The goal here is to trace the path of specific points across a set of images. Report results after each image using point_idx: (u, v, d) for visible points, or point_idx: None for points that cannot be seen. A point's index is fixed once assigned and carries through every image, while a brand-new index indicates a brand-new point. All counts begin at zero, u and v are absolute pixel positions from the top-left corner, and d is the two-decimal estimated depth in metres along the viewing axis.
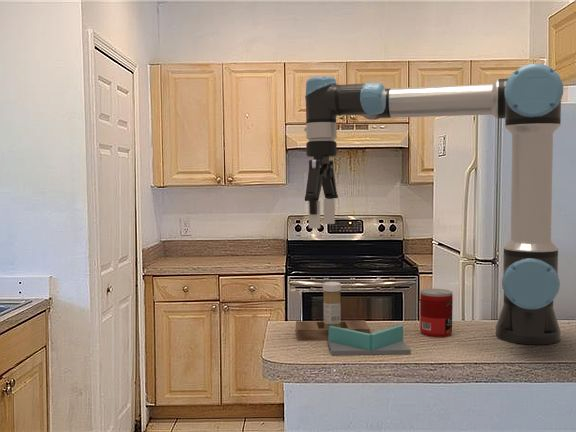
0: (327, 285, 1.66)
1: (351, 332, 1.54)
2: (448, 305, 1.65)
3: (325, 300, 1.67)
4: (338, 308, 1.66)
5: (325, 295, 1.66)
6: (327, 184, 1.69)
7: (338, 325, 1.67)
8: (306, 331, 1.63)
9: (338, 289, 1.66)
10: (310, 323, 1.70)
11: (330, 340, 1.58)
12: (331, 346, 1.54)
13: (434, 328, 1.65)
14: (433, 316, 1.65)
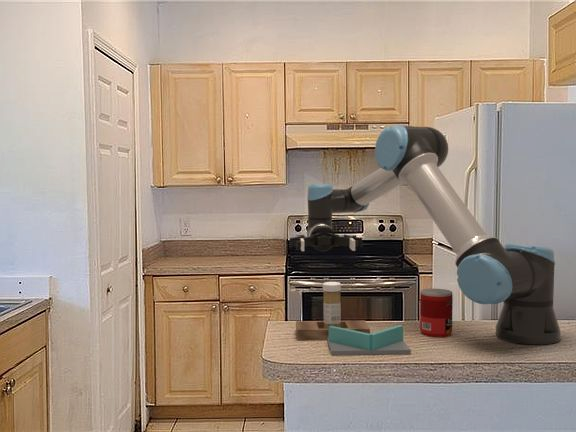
0: (327, 285, 1.66)
1: (351, 332, 1.54)
2: (448, 305, 1.65)
3: (325, 300, 1.67)
4: (338, 308, 1.66)
5: (325, 295, 1.66)
6: (340, 240, 1.87)
7: (338, 325, 1.67)
8: (306, 331, 1.63)
9: (338, 289, 1.66)
10: (310, 323, 1.70)
11: (330, 340, 1.58)
12: (331, 346, 1.54)
13: (434, 328, 1.65)
14: (433, 316, 1.65)
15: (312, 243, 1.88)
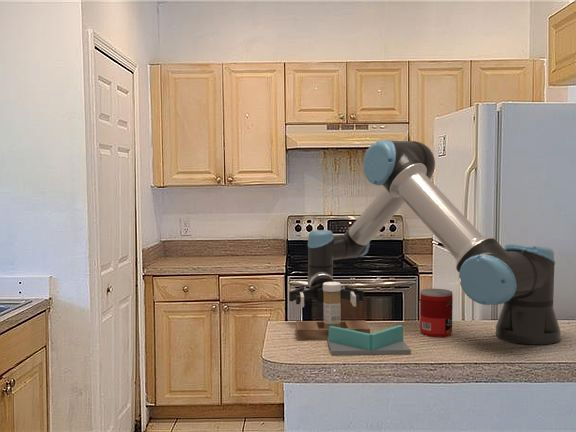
0: (327, 285, 1.66)
1: (351, 332, 1.54)
2: (448, 305, 1.65)
3: (325, 300, 1.67)
4: (338, 308, 1.66)
5: (325, 295, 1.66)
6: (341, 293, 1.83)
7: (338, 325, 1.67)
8: (306, 331, 1.63)
9: (338, 289, 1.66)
10: (310, 323, 1.70)
11: (330, 340, 1.58)
12: (331, 346, 1.54)
13: (434, 328, 1.65)
14: (433, 316, 1.65)
15: (312, 296, 1.84)
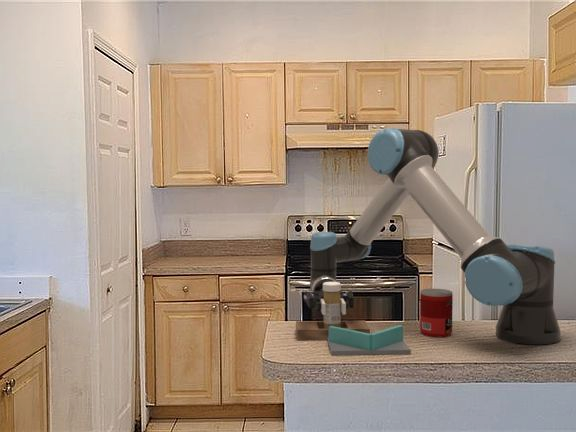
0: (327, 285, 1.66)
1: (351, 332, 1.54)
2: (448, 305, 1.65)
3: (325, 300, 1.67)
4: (338, 308, 1.66)
5: (325, 295, 1.66)
6: None
7: (338, 325, 1.67)
8: (306, 331, 1.63)
9: (338, 289, 1.66)
10: (310, 323, 1.70)
11: (330, 340, 1.58)
12: (331, 346, 1.54)
13: (434, 328, 1.65)
14: (433, 316, 1.65)
15: None
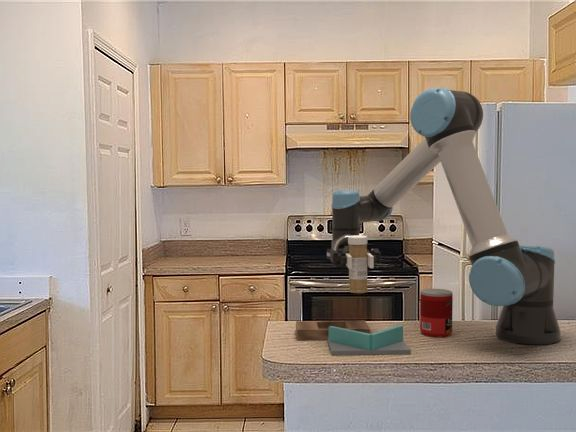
0: (353, 238, 1.55)
1: (351, 332, 1.54)
2: (448, 305, 1.65)
3: (351, 254, 1.56)
4: (365, 262, 1.56)
5: (351, 249, 1.56)
6: None
7: (365, 281, 1.56)
8: (306, 331, 1.63)
9: (365, 242, 1.56)
10: (310, 323, 1.70)
11: (330, 340, 1.58)
12: (331, 346, 1.54)
13: (434, 328, 1.65)
14: (433, 316, 1.65)
15: None
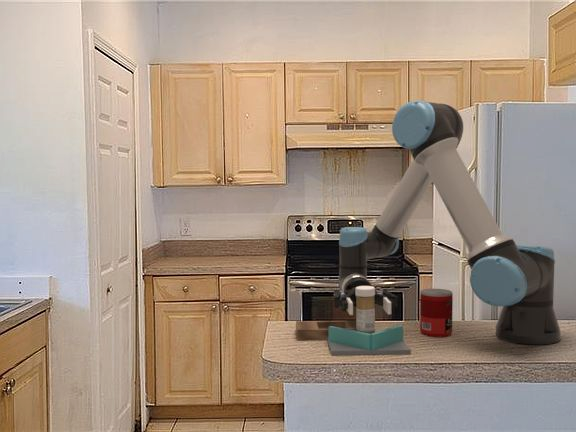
0: (360, 289, 1.54)
1: (351, 332, 1.54)
2: (448, 305, 1.65)
3: (358, 306, 1.55)
4: (372, 314, 1.54)
5: (358, 300, 1.54)
6: (375, 298, 1.62)
7: (372, 332, 1.55)
8: (306, 331, 1.63)
9: (372, 294, 1.54)
10: (310, 323, 1.70)
11: (330, 340, 1.58)
12: (331, 346, 1.54)
13: (434, 328, 1.65)
14: (433, 316, 1.65)
15: (353, 301, 1.63)
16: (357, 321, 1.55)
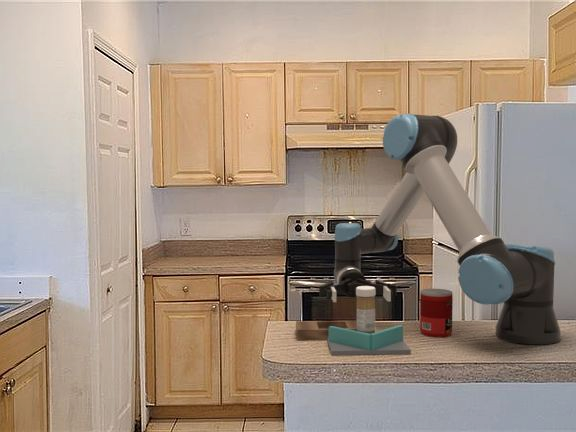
0: (361, 290, 1.54)
1: (351, 332, 1.54)
2: (448, 305, 1.65)
3: (359, 306, 1.55)
4: (373, 314, 1.54)
5: (359, 300, 1.54)
6: None
7: None
8: (306, 331, 1.63)
9: (373, 294, 1.54)
10: (310, 323, 1.70)
11: (330, 340, 1.58)
12: (331, 346, 1.54)
13: (434, 328, 1.65)
14: (433, 316, 1.65)
15: (342, 290, 1.76)
16: (357, 321, 1.55)
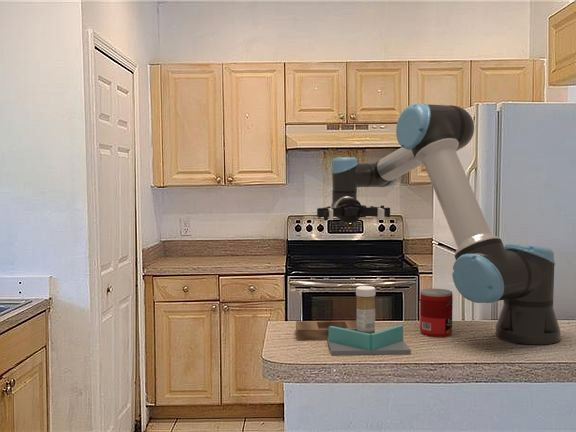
0: (361, 290, 1.54)
1: (351, 332, 1.54)
2: (448, 305, 1.65)
3: (359, 306, 1.54)
4: (373, 314, 1.54)
5: (359, 300, 1.54)
6: (368, 211, 1.86)
7: None
8: (306, 331, 1.63)
9: (373, 294, 1.54)
10: (310, 323, 1.70)
11: (330, 340, 1.58)
12: (331, 346, 1.54)
13: (434, 328, 1.65)
14: (433, 316, 1.65)
15: (339, 214, 1.86)
16: (357, 321, 1.55)
